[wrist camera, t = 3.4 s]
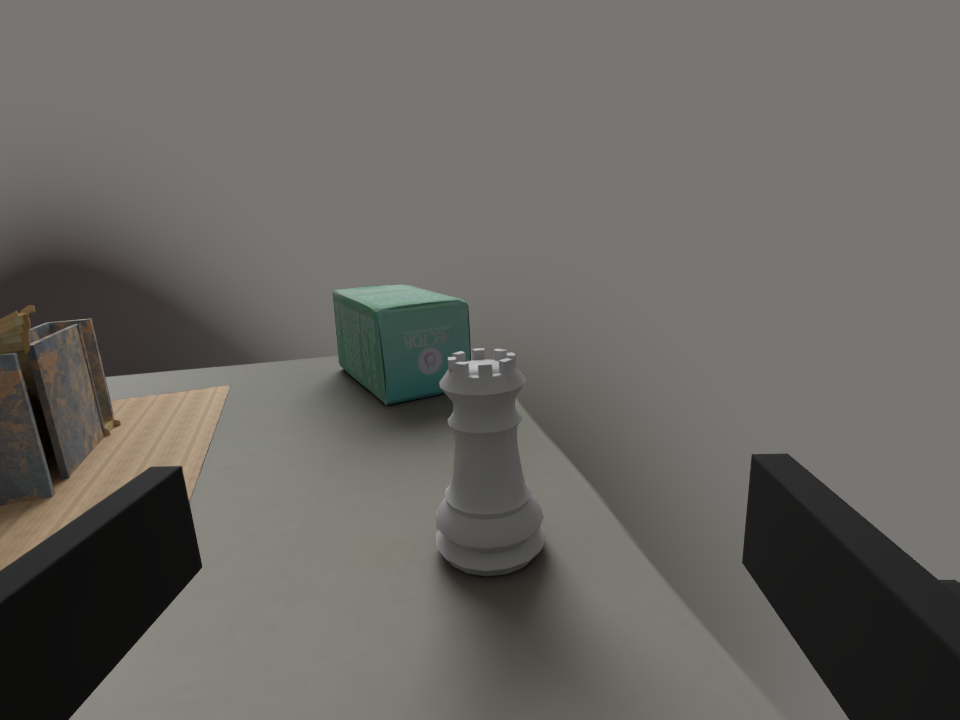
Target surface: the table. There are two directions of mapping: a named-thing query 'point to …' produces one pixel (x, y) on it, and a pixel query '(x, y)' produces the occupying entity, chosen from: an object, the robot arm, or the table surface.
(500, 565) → the rook chess piece
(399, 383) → the box
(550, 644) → the table surface
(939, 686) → the robot arm
